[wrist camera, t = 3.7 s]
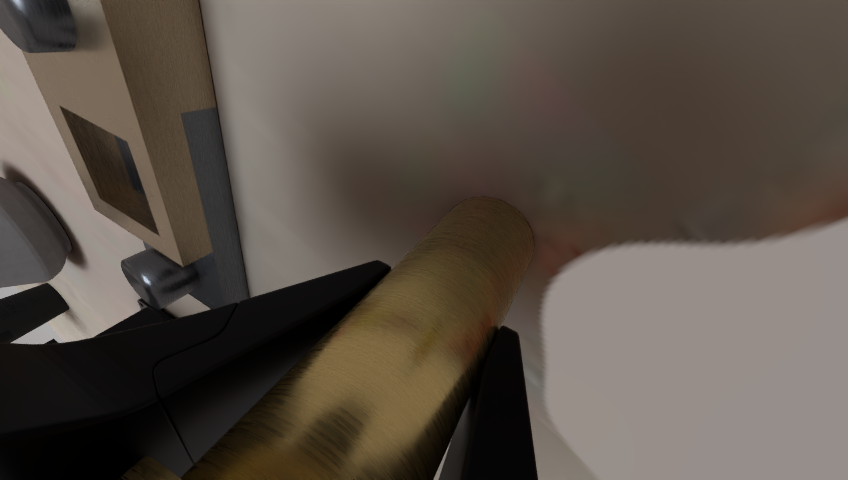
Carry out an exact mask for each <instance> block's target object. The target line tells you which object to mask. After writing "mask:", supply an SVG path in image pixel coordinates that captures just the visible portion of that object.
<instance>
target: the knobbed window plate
mask: <svg viewBox="0 0 848 480" xmlns="http://www.w3.org/2000/svg"><path fill="white" fill-rule="evenodd" d="M0 28H1V29H2V31H3V32H4V33H5V34H6V35H7V37H8V38H9V39H10V40H11V41H12V42H13V43H14V44H15V45H16V46H18V47H19V48H20V49H21V50H22V52H23V54H24V56H25V59H26V61H27V63H28V65H29V67H30V69H31V72H32V74H33V76H34V78H35V80H36V83H37V85H38V87H39V89H40V91H41V93H42V96H43V98H44V100H45V102H46V104H47V106H48V109H49V111H50V113H51V115H52V117H53V119H54V122H55V124H56V126H57V128H58V130H59V133H60V135H61V137H62V139H63V141H64V143H65V146H66V148H67V150H68V152H69V154H70V156H71V159H72V161H73V163H74V165H75V167H76V170H77V172H78V174H79V176H80V178H81V180H82V183H83V185H84V187H85V189H86V191H87V193H88V196H89V198H90V200H91V202H92V204H93V206H94V209H95V210H96V211H98V212H100V213H101V214H103V215H104V216H106V217H107V218H109V219H110V220H112V221H113V222H115V223H116V224H118V225H119V226H121V227H123V228H124V229H126V230H127V231H129V232H130V233H132V234H133V235H135V236H136V237H138V238H139V239H141V240H143V243H144V245H145V248H146V250H144V251H142V252H140V253H138V254H135V255H133V256H131V257H129V258H126V259H124V260H122V261H121V268H122V270H123V273H124V275H125V277H126V278H127V280H128V282H129V283H130V284H131V286H132V287H133V288H134V290H135V291H136V292H137V293H138V294H139V295H140V297H141V298H142V299H143V300H145V301H146V302H147V303H148V304H149V305H151V306H152V307H154V308H156V309H162V308H164V307H166V306H167V305H169V304H171V303H172V302H174V301H176V300H178V299H179V298H181V297H183V296H184V295H186V294H190V295H191V296H193V297H194V298H196V299H197V300H199V301H200V302H202V303H203V304H204V305H206V306H207V307H209V308H210V309H215V308H218V307H222V306H225V305H228V304H232V303H235V302H237V303H239V302H240V301H242V300H245V299H249V295H248V289H247V283H246V278H245V272H244V266H243V260H242V254H241V248H240V242H239V237H238V231H237V225H236V219H235V213H234V207H233V201H232V196H231V190H230V184H229V178H228V172H227V166H226V160H225V155H224V149H223V143H222V137H221V131H220V125H219V119H218V114H217V108H216V102H215V96H214V90H213V84H212V78H211V73H210V67H209V61H208V55H207V49H206V43H205V37H204V32H203V26H202V20H201V14H200V8H199V2H198V0H0Z"/></svg>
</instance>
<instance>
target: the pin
mask: <svg viewBox="0 0 848 480" xmlns="http://www.w3.org/2000/svg"><path fill="white" fill-rule="evenodd" d="M533 251H534V238H533V234H532V231H531V228H530V226H529V224H528V222H527V221H526V220H525V218H524V217H523V216H522V215H521V214H520V213H519V211H517V210H516V209H515V208H514V207H512V206H511V205H509V204H507V203H505V202H503V201H501V200H498V199H495V198H490V197H474V198H470V199H467V200H465V201H463V202H461V203H459V204H458V205H457V206H456V207H454V208H453V209H452V210H451V211H450V212H449V213H448V214H447V215H446V216H445V217H444V218H443V219H442V220H441V221H440V222H439V223H438V224H437V225H436V226H435V227H434V228H433V229H432V230H431V231H430V232H429V233H428V234H427V235H426V236H425V237H424V238H423V239H422V240H421V241H420V242H419V243H418V244H417V245H416V246H415V247H414V248H413V249H412V250H411V251H410V252H409V253H408V254H407V255H406V256H405V257H404V258H403V259H402V260H401V261H400V262H399V263H398V264H397V265H396V266H395V267H394V268H393V269H392V270H391V271H390V272H389V273H387V274H386V275H385V276H384V277H383V278H382V279H381V280H380V281H379V282H378V283H377V284H376V285H375V286H374V287H373V288H372V289H371V290H370V291H369V292H368V293H367V294H366V295H365V296H364V297H363V298H362V299H361V300H360V301H359V302H358V303H357V304H356V305H355V306H354V307H353V308H352V309H351V310H350V311H349V312H348V313H347V314H346V315H345V316H344V317H343V318H342V319H341V320H340V321H339V322H338V323H337V324H336V325H335V326H334V327H333V328H332V329H331V330H330V331H329V332H328V333H327V334H326V335H325V336H324V337H323V338H322V339H321V340H320V341H319V342H318V343H317V344H315V345H314V346H313V347H312V348H311V349H310V350H309V351H308V352H307V353H306V354H305V355H304V356H303V357H302V358H301V359H300V360H299V361H298V362H297V363H296V364H295V365H294V366H293V367H292V368H291V369H290V370H289V371H288V372H287V373H286V374H285V375H284V376H283V377H282V378H281V379H280V380H279V381H278V382H277V383H276V384H275V385H274V386H273V387H272V388H271V389H270V390H269V391H268V392H267V393H266V394H265V395H264V396H263V397H262V398H261V399H260V400H259V401H258V402H257V403H256V404H255V405H254V406H253V407H252V408H251V409H250V410H249V411H248V412H247V413H246V414H245V415H243V416H242V417H241V418H240V419H239V420H238V421H237V422H236V423H235V424H234V425H233V426H232V427H231V428H230V429H229V430H228V431H227V432H226V433H225V434H224V435H223V436H222V437H221V438H220V439H219V440H218V441H217V442H216V443H215V444H214V445H213V446H212V447H211V448H210V449H209V450H208V451H207V452H206V453H205V454H204V455H203V456H202V457H201V458H200V459H199V460H198V461H197V462H196V463H195V464H194V465H193V466H192V467H191V468H190V469H189V470H188V471H187V472H186V473H185V474H184V475H183V476H182V477H181V478H179V477H178V476H177V475H175V474H174V473H173V472H171V471H170V470H169V469H167V468H166V467H165V466H163V465H162V464H160V463H159V462H157V461H156V460H154V459H152V458H150V457H148V456H144V457H143V458H142V459H141V460H140V461H138V462H137V463H136V464H135V465H134V466H133V467H132V468H130V469H129V470H128V471H127V472H126V473H125V474H124V475H122V476H121V477H120V478H119V479H118V480H433V479H434V476H435V474H436V472H437V470H438V467H439V465H440V463H441V461H442V458H443V456H444V454H445V452H446V449H447V447H448V445H449V443H450V440H451V438H452V436H453V434H454V431H455V429H456V427H457V425H458V422H459V420H460V418H461V416H462V413H463V411H464V409H465V407H466V404H467V402H468V400H469V398H470V395H471V393H472V391H473V388H474V386H475V384H476V381H477V378H478V376H479V373H480V371H481V369H482V366H483V364H484V362H485V360H486V358H487V355H488V353H489V351H490V349H491V346H492V344H493V342H494V340H495V337H496V335H497V333H498V331H499V329H500V327H501V326H502V323H503V321H504V319H505V317H506V314H507V312H508V310H509V308H510V305H511V303H512V301H513V299H514V296H515V294H516V292H517V290H518V287H519V285H520V283H521V281H522V278H523V276H524V274H525V272H526V269H527V267H528V265H529V263H530V260H531V258H532V255H533Z"/></svg>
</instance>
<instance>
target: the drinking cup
mask: <svg viewBox="0 0 848 480" xmlns="http://www.w3.org/2000/svg"><path fill="white" fill-rule="evenodd" d="M68 309H69V308H68V305H67V304H66V302H65V301H64V300H63V298H62V297H61V296H60V295H59V294H58V292H57V291H56V290H55V289H54V288H53V287H51V286H50V285H49V284H47V283H45V284H42V285H39V286H37V287H34V288H31V289H28V290H25V291H22V292H20V293H17V294H14V295H11V296H8V297H5V298H2V299H0V343H11V342H13V341H14V340H16V339H18V338H20V337H21V336H23V335H25V334H27V333H28V332H30V331H32V330H34V329H36V328H37V327H39V326H41V325H43V324H44V323H46V322H48V321H49V320H51V319H53V318H55V317H56V316H58V315H60V314H62V313H63V312H65V311H67V310H68Z"/></svg>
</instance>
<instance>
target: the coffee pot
mask: <svg viewBox="0 0 848 480" xmlns="http://www.w3.org/2000/svg"><path fill="white" fill-rule="evenodd" d="M71 248H72V247H71V244H70V241H69V239H68V237H67V235H66V233H65V231H64V230H63V228H62V226H61V225H60V223H59V222H58V220H57V219H56V217H55V216H54V215H53V213H52V212H51V211H50V210H49V208H48V207H47V206H46V205H45V204H44V202H43V201H42V200H41V199H40V198H39V197H38V196H37V195H36V194H35V193H34V192H33V191H32V190H31V189H30V188H28V187H27V186H26V185H25V184H23V183H21V182H15V183H12V182H10V181H8V180H6V179H4V178H2V177H0V288H2V287H9V286H17V285H25V284H32V283H40V282H45V281H49V280H51V279H53V278H54V277H55V276H56V275H57V274H58V273H59V272H60V271H61V270H62V268H63V266H64V264H65V261H66V252H70V251H71Z"/></svg>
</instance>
